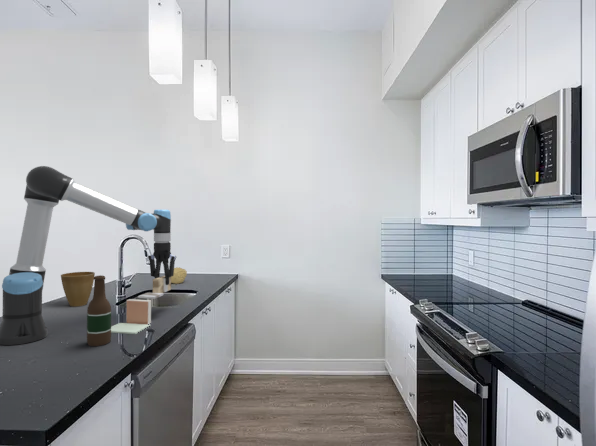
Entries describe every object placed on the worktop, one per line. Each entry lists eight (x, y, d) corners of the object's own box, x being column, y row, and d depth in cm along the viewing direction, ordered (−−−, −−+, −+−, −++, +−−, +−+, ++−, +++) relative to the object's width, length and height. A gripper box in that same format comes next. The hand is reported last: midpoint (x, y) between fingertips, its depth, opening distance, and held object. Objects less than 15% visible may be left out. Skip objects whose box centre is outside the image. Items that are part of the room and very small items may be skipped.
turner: (154, 298, 162) (154, 282, 162) (137, 298, 163) (137, 282, 163) (176, 289, 182) (176, 275, 182) (160, 289, 183) (160, 275, 183)
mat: (135, 334, 143) (135, 332, 143) (102, 332, 145) (102, 330, 145) (150, 326, 154) (150, 324, 154) (119, 324, 156) (119, 322, 156)
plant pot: (83, 300, 198) (83, 270, 198) (100, 304, 191) (101, 273, 191) (53, 306, 185) (54, 274, 185) (71, 310, 178) (71, 276, 178)
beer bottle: (83, 347, 128) (84, 278, 128) (89, 340, 135) (90, 274, 135) (108, 345, 130) (109, 277, 130) (113, 338, 138) (113, 274, 137)
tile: (147, 325, 155) (148, 301, 155) (125, 323, 157) (126, 300, 157) (150, 323, 158) (151, 300, 158) (129, 322, 159) (129, 299, 159)
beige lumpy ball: (175, 285, 248) (176, 269, 248) (163, 283, 254) (164, 267, 254) (189, 282, 257) (189, 267, 257) (177, 280, 264) (177, 265, 264)
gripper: (181, 241, 178) (181, 290, 179) (150, 241, 181) (150, 289, 181) (174, 242, 171) (174, 293, 171) (142, 242, 173) (142, 292, 174)
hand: (162, 291), depth 176 cm, fingers closed on turner, 3 cm apart
